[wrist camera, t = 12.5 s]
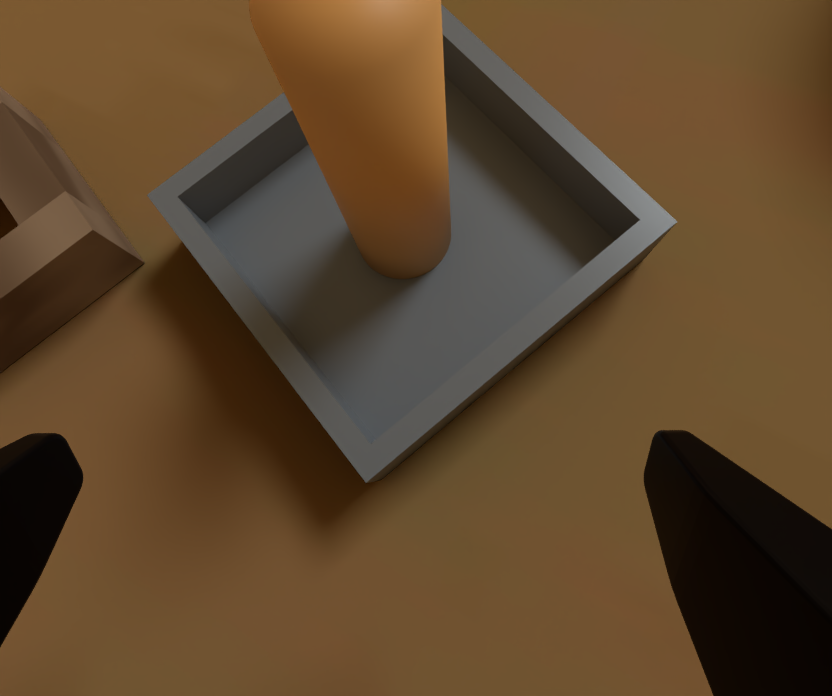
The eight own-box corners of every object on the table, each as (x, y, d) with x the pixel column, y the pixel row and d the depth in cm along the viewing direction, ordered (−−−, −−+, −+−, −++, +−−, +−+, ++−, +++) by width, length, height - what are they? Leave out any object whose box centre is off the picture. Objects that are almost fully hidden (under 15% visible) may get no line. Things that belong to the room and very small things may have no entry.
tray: (381, 480, 18) (365, 482, 15) (190, 232, 21) (146, 195, 18) (643, 258, 19) (677, 221, 16) (428, 51, 22) (423, -13, 19)
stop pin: (396, 298, 18) (324, 110, 9) (338, 230, 19) (213, -11, 9) (470, 238, 19) (480, -9, 9) (411, 174, 19) (360, -115, 10)
